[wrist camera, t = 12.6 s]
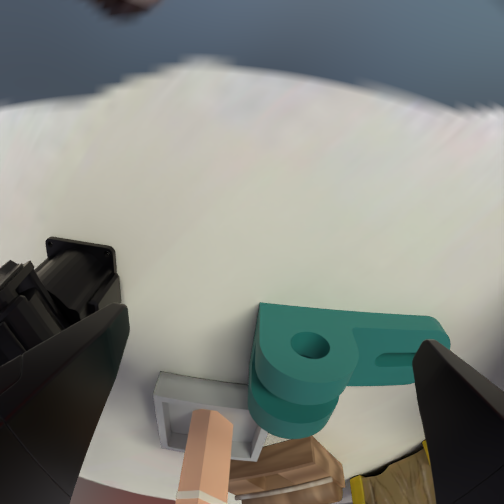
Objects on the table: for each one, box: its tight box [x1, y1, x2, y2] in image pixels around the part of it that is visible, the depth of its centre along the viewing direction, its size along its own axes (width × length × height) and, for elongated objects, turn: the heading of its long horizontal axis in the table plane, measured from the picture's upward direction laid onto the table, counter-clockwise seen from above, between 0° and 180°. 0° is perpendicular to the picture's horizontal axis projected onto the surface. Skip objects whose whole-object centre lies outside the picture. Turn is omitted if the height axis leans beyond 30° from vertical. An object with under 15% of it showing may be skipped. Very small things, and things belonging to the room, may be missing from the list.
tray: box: [153, 371, 268, 462], centre depth 29 cm, size 11×11×3 cm
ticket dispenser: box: [228, 436, 345, 504], centre depth 33 cm, size 12×14×7 cm
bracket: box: [248, 302, 450, 439], centre depth 22 cm, size 18×7×8 cm, turn 83°
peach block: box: [176, 409, 233, 504], centre depth 24 cm, size 4×2×11 cm, turn 31°
